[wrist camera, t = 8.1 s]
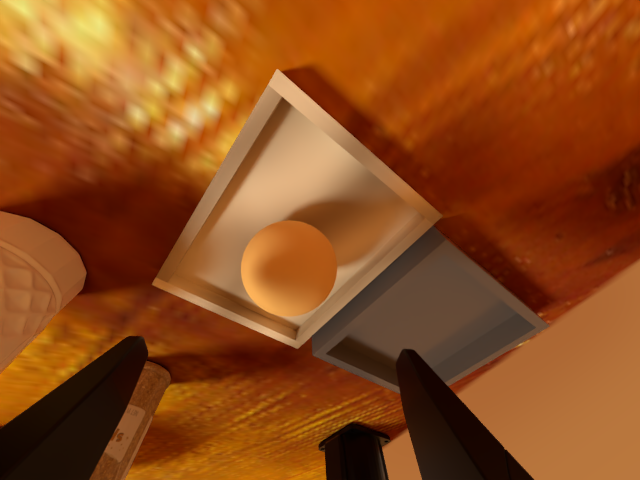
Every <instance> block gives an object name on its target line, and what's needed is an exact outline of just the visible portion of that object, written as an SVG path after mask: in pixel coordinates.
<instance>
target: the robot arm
mask: <svg viewBox="0 0 640 480" xmlns="http://www.w3.org/2000/svg"><path fill="white" fill-rule="evenodd" d="M147 358H148V350H147V346H146V343H145V340H144V338H143V337H142V336H129V337H126V338H125V339H123V340H122V341H121V342H119V343H118V344H117V345H115V346H114V347H112V348H111V349H110V350H108V351H107V352H105V353H104V354H103V355H101V356H100V357H99V358H97V359H96V360H94V361H93V362H92V363H90V364H89V365H87V366H86V367H85V368H83V369H82V370H81V371H79V372H78V373H76V374H75V375H74V376H72V377H71V378H69V379H68V380H67V381H65V382H64V383H63V384H61V385H60V386H58V387H57V388H56V389H54V390H53V391H51V392H50V393H49V394H47V395H46V396H45V397H43V398H42V399H40V400H39V401H38V402H36V403H35V404H33V405H32V406H31V407H29V408H28V409H27V410H25V411H24V412H22V413H21V414H20V415H18V416H17V417H15V418H14V419H13V420H11V421H10V422H9V423H7V424H6V425H4V426H3V427H2V428H0V480H89V479H90V478H91V476H92V474H93V472H94V470H95V468H96V466H97V464H98V462H99V460H100V459H101V457H102V455H103V453H104V451H105V449H106V447H107V445H108V443H109V441H110V440H111V438H112V436H113V434H114V432H115V430H116V428H117V426H118V424H119V422H120V421H121V419H122V417H123V415H124V413H125V411H126V409H127V406H128V404H129V402H130V400H131V397H132V395H133V392H134V390H135V387H136V385H137V382H138V380H139V378H140V375H141V373H142V370H143V368H144V365H145V363H146V361H147ZM396 372H397V378H398V384H399V389H400V395H401V401H402V406H403V411H404V415H405V419H406V423H407V427H408V430H409V433H410V437H411V441H412V444H413V448H414V452H415V455H416V459H417V462H418V466H419V470H420V473H421V477H422V480H534V479H533V478H532V477H531V476H530V475H529V474H528V472H527V471H526V470H525V469H524V468H523V467H522V466H521V465H520V464H519V463H518V462H517V461H516V460H515V459H514V457H513V456H512V455H511V454H510V453H509V452H508V451H507V450H505V449H504V447H503V446H502V445H501V443H500V442H499V441H498V440H497V439H496V438H495V437H494V436H493V435H492V434H491V433H490V432H489V430H488V429H487V428H486V427H485V426H484V425H483V424H482V423H481V422H480V421H479V420H478V418H477V417H476V416H475V415H474V414H473V413H472V412H471V411H470V410H469V409H468V407H467V406H466V405H465V404H464V403H463V402H462V401H461V400H460V399H459V398H458V397H457V396H456V394H455V393H454V392H453V391H452V390H451V389H450V388H449V387H448V386H447V385H446V384H445V382H444V381H443V380H442V379H441V378H440V377H439V376H438V375H437V374H436V373H435V372H434V370H433V369H432V368H431V367H430V366H429V365H428V364H427V363H426V362H425V361H424V360H423V359H422V357H421V356H420V355H419V354H418V353H417V352H416V351H415V350H413V349H402V350H401V352H400V354H399V356H398V359H397V361H396ZM389 442H390V437H389V436H387V435H384V434H381V433H378V432H375V431H372V430H369V429H367V428H364V427H361V426H358V425H355V424H351V425H349V426H347V427H345V428H344V429H342V430H341V431H339V432H338V433H336V434H334V435H333V436H331V437H330V438H328V439H327V440H325V441H323V442H322V443H320V444H319V450H320V451H324V452H325V461H326V479H327V480H389V479H388V474H387V470H386V465H385V460H384V456H383V451H382V446H384V445H386V444H387V443H389Z"/></svg>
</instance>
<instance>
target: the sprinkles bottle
mask: <svg viewBox="0 0 640 480" xmlns="http://www.w3.org/2000/svg"><path fill="white" fill-rule="evenodd" d="M170 381H171V377H170V374H169V372H168V371H167V370H166V369H165V368H163V367H162V366H160V365H158V364H155V363H153V362H149V361H146V363H145V365H144V368H143V370H142V373H141V375H140V378H139V380H138V382H137V385H136V387H135V390H134V392H133V395H132V397H131V400H130V402H129V404H128V406H127V409H126V411H125V413H124V415H123V417H122V419H121V421H120V422H119V424H118V426H117V428H116V430H115V432H114V434H113V436H112V438H111V440H110V441H109V443H108V445H107V447H106V449H105V451H104V453H103V455H102V457H101V459H100V460H99V462H98V464H97V466H96V468H95V470H94V472H93V474H92V476H91V478H90V479H89V480H125V478H126V476H127V474H128V471H129V469H130V467H131V465H132V463H133V461H134V459H135V456H136V454H137V452H138V450H139V448H140V446H141V443H142V441H143V439H144V437H145V435H146V433H147V431H148V428H149V426H150V424H151V422H152V419H153V415H154V413H155V411H156V409H157V407H158V405H159V403H160V400H161V398H162V396H163V394H164V392H165V390H166V389H167V388H168V386H169V384H170Z"/></svg>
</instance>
